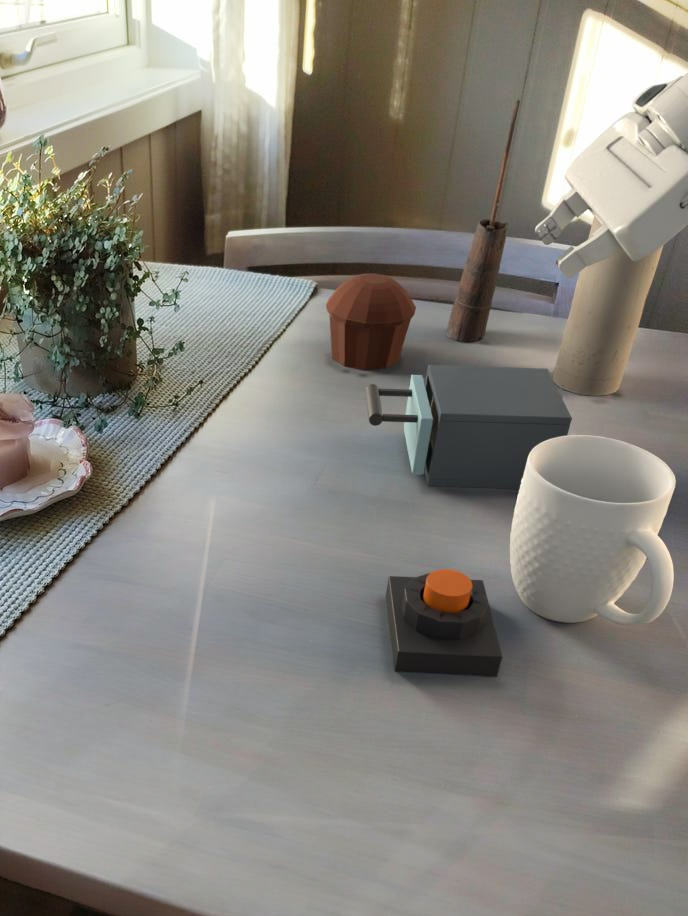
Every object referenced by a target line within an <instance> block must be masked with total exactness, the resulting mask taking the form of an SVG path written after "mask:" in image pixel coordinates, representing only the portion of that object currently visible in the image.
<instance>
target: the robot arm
mask: <svg viewBox="0 0 688 916" xmlns="http://www.w3.org/2000/svg"><path fill="white" fill-rule="evenodd" d="M631 107H632V108H633V110H634V111H629V112H627V113H626V114H624V115H622V116H621V117H619V118H618V119H617V120H615V122H613V123H612V124H611V125H610V126H609V127H607V128H606V129H605V130H604V131H603V132H602V133H601V134H600V135H599V136H598V137H597V138H596V139H594V141H593V142H592V143H590V145H588V146H587V147H586V149H584V150H583V151H582V152H580V154H579V155H578V156H577V157H576V158H575V159H574V160H573V161H572V162H571V164H570V166H569V167H568V168H567V170H566V171H565V173H564V178H565V181H566V182H567V184H568V185H569V186H570V188H571V189H570V190H569V191H567V192H566V193H565V194H564V195H563V196H562V197H561V198H560V199H559V200H558V202H557V203H556V204H555V206H554V207H553V208H552V210H551V212H550V213H549V214H548V215H547V216H546V217H544V219H543V220H541V221H540V222H539V223H538V224H537V225H536V226H535V228H534V232H535V233H536V235H537V237H538V238H539V239H540V240H541V242H542V243H543V244H544V245H546V246H549V245H551V244H552V243H553V242H555V240H557V239H558V238H559V237H561V236H562V235H563V233H564V232H563V230H564V229H565V228H566V227H567V226H568V225H569V224H570V223H571V222H572V221H573V220H574V219H575V218H580V216H582V214H584V213H585V212H586V211H587V210H589V211H590V213H591V214H592V215H593V217H594V216H595V217H596V219H597V220H598V221H599V222H600V223H601V224H602V226H601V227H600V228H599V229H598V230H596V231H595V232H594V233H593V234H592V235H593V237H592V238H590V239H586V240H585V241H583V242H582V243H580V244H579V245H577V246H575V247H573V246H572V245H571V246H570V247H568V248H567V249H566V250H565V251H564V252H563V253H562V254H560V255H559V256H557V258H556V260H555V264H556V265H557V267H558V269H559V270H560V272H561V273H562V275H564V277H565V278H566V279H573V278H574V277H575V276H577V274H579V273H580V271H581V270H583V269H584V268H585V267H586V266H590V265H592V264H594V263H597V262H599V261H601V260H604V259H606V258H609V257H610V256H611V255H612V254H614V253H615V252H616V251H618V250H619V249H620V248H622V249H623V250H624V251H625V252H626V254H627V255H628V256H629V257H630V258H631V259H632V260H633V261H638V260H641V259H643V258H646V257H648V256H650V255H652V254H653V253H654V252H656V251H657V250H658V249H659V248H661V247H662V246H663V245H664V246H665V245H666V244H667V243H668V242H669V241H670V240H672V239H673V238H674V237H675V236H676V235H677V234H679V233H680V232H681V231H682V230H683V229H685V228H686V227H687V226H688V72H686V73H685V74H684V75H680V76H678V77H677V78H675V79H673V80H671V81H668V82H664V83H659V84H653V85H650V86H648V87H647V88H645V89H644V90H643V91H642V92H641V93H640V94H638V95H637V96H636V97H635V98H634V99H633V100H632V101H631ZM664 246H663V247H664Z"/></svg>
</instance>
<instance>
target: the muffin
mask: <svg viewBox="0 0 688 916" xmlns="http://www.w3.org/2000/svg"><path fill="white" fill-rule="evenodd" d="M325 308H326V311H327V313H328V314H329V316H328V317H329V325H330V326H329V328H330V329H329V330H330V343H331V359H332V360H334V361H336V362H338V363H339V364H341V365H342V366H343V367H346V368H354V369H358V370H362V371H369V370H382V369H383V370H385V369H387V368H388V367H390V366H392V365H395V364H396V363H398V362H399V360H400V357H401V353H402V350H403V347H404V343H405V340H406V337H407V333H408V331H409V327H410V323H411V320H412V318H413V317H414V316H415V314H416V309H417V307H416V305H415V303H414V301H413V299H412V297H411V295H410V294H409V292H408V291H407V290H406V288H405V287H403V286H402V284H401V283H399V282H398V281H397V280H395V279H394V278H392V277H391V276H388V275H385V274H379V273H367V272H366V273H361V274H357V275H355V276H353V277H351V278H349V279H347V280H345V281H344V282H342V283H340V285H338V287H337V288H335V290H334V292H333V293H332V294H331V296H330V297H328V300H327V301H326V304H325Z"/></svg>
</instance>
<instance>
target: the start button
mask: <svg viewBox="0 0 688 916" xmlns="http://www.w3.org/2000/svg"><path fill="white" fill-rule="evenodd" d="M429 573H430V574H429V575H428V576H427V579H426V584H425V589H424V594H423V599H424V602H425V603H426V604H427V606H429V607H430V608H432V609H435V610H438V611H440V612H447V613H458V612H461V611H463V610H465V609H466V608H467V606H468V604H469V600H470V596H471V591H472V587H473V585H472V582H471V580H472V579H471V578H470V577H469V576H467V575H466V574H464V573H463V572H460V571H458V570H454V569H447V568H445V569H444V568H443V569H437V570H433V571H432V572H429Z"/></svg>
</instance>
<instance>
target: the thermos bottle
mask: <svg viewBox="0 0 688 916" xmlns="http://www.w3.org/2000/svg"><path fill="white" fill-rule="evenodd" d="M601 226H602V224H601V223H600V222H599V221H598V220H597V219H596V217H595V216H594V215H593V219H592V222H591V227H590V231H589V234H588V239H590V238H592V237H593V235H592V234H593V233H594V232H595V231H596V230H598V229H599V228H600V227H601ZM588 239H587V240H588ZM664 246H665V244H664V245H663V246H662V247H661V248H659V249H658V250H657V251H656V252H654V253H653V254H652V255H650V256H648V257H646V258H643V259H641V260H638V261H633V260H632V259H631V258H630V257H629V256H628V255H627V254H626V252H625V251H624V250H623V249H622V248H620V249H619V250H618V251H616V252H615V253H614V254H612V255H611V256H610V257H609V258H606V259H604V260H601V261H599V262H597V263H594V264H592V265H590V266H586V267H585V268H584V269H583V270H581V271H580V272H579V273H578V277H577V281H576V284H575V289H574V293H573V297H572V302H571V307H570V310H569V314H568V318H567V320H566V324H565V327H564V331H563V335H562V339H561V342H560V347H559V350H558V353H557V358H556V362H555V365H554V371H553V374H552V379H553V381H554V383H555V385H556V386H557V387H558V388H561V389H562V390H565V391H568V392H570V393H574V394H577V395H582V396H591V397H592V396H593V397H594V396H595V397H599V396H600V397H601V396H607V395H612V394H614V393H616V392H617V391H618V390H619V389H620V387H621V383H622V381H623V378H624V374H625V371H626V368H627V365H628V360H629V357H630V354H631V351H632V348H633V345H634V341H635V338H636V335H637V332H638V329H639V325H640V322H641V319H642V315H643V312H644V309H645V304H646V300H647V297H648V295H649V291H650V288H651V286H652V283H653V280H654V278H655V275H656V271H657V268H658V264H659V262H660V258H661V255H662V252H663V249H664Z"/></svg>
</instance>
